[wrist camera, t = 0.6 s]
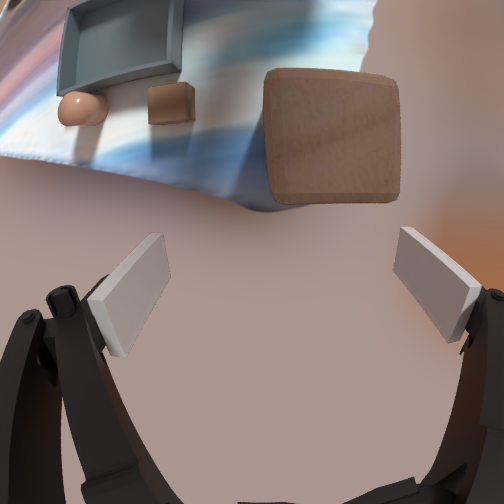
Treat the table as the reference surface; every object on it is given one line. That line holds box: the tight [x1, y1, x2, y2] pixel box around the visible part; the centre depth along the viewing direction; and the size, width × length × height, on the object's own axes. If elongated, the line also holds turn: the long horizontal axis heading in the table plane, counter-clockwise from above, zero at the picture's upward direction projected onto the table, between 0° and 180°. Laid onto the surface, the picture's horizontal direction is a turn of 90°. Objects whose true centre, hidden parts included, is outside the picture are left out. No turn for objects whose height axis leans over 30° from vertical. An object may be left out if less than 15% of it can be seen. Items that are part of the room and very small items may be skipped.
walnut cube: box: [148, 82, 195, 125], centre depth 31 cm, size 5×5×5 cm
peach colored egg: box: [58, 91, 109, 126], centre depth 30 cm, size 5×5×7 cm
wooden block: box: [263, 68, 401, 205], centre depth 25 cm, size 10×10×20 cm
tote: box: [57, 0, 184, 97], centre depth 25 cm, size 17×19×5 cm
